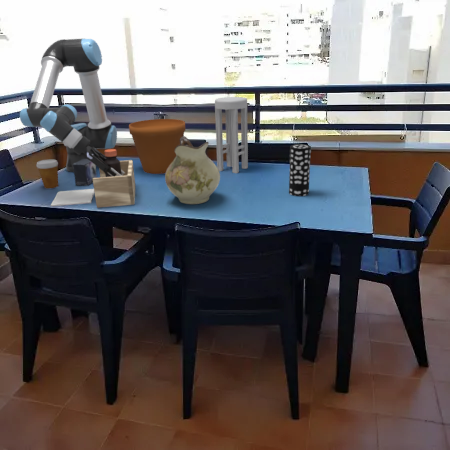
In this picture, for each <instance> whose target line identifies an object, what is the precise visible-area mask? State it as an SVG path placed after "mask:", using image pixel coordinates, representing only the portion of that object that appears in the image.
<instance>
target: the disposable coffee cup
mask: <svg viewBox="0 0 450 450" xmlns="http://www.w3.org/2000/svg"><path fill="white" fill-rule="evenodd" d="M58 165H59V162H58V160H56V159H42V160H39V161H37V162H36V168H37V169H38V173H39V176H40V178H41V182H42V185H43V187H44V189H55V188H58V187H59V186H60V185H59V169H58V167H59V166H58Z"/></svg>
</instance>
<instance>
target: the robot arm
mask: <svg viewBox="0 0 450 450" xmlns="http://www.w3.org/2000/svg"><path fill="white" fill-rule="evenodd" d="M102 57H103V56H102V51H101V49H100V46H99V44H98V43H97V42H96V40H94V39H92V38H71V39H69V38H67V39H58V40H55V42H53V43H52V44H50V45H49V46H48V48H47V49H46V50H45V51H44V53H43V55H42V57H41V60H40V64H41V68H40V71H39V75H38V78H37V81H36V83H35V88H34V90H33V94H32V97H31V100H30V103H29V106H28V108H27V107H26V108H22V109H21V110H20V112H19V118H20V122H21V124H22V125H23V126H24V127H28V128H29V127H30V128H31V127H32V128H35V127H36V128H37V127H38V128H40V127H41V128H43V129H44V130H45V131H46V132H48V133H49V134H51V135H52V136H53V137H55V138H56V139H57V140H58V141H60V142H61V143H63V146H65V147H66V148H65V149H66V153H67V158H66V165H65V167H66V168H65V169H66V171H68V172H71V173H74V169H73V164H74V163H76V162H78V161H80V160H82V159H88V160H90V161H91V162H92V163H94V164H95V165H96V168H98V169H99V168H100V169H101V170H102V171H103V172H104V173H105V174H107V173H108V174H110V175H111V176H112V177H114V176H123V174H124V173H125V172H123V171H122V170H121V173H122V175H121V174H119V173H118V172H117V171H115V170H114V169H113V168H110V167H109V166H108V165H107V164H106V163H105V160H106V157H105V154H103V153H102V152H101V151H99V150H108V149H114V148H115V146H116V144H117V142H118V141H117V140H118V131H117V130H118V129H117V127H116V126H115V125H112V122H111V120H109V118H108V117H107V112H106V106H105V103H104V97H103V93H102V89H101V85H100V84H101V83H100V79H99V74H98V71H99V70H100V66H101V65H102V62H103V58H102ZM65 67H73V70H74V73H76V74H78V77H79V81H80V82H79V83H80V84H81V90H82V94H83V97H84V102H85V106H86V110H87V115H88V119H89V120H88V121H89V122H88V123H85V122H79V123H76V124H75V121H76V120H77V118H78V111H77V109H76V107H74V106H73V105H71V104H64V105H61V106H60V107H50V106H51V102H52V98H53V95H54V93H55V89H56V86H57V82H58V79H59V76H60V74H61V72H63V70H64V68H65ZM73 123H74V124H73Z"/></svg>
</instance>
